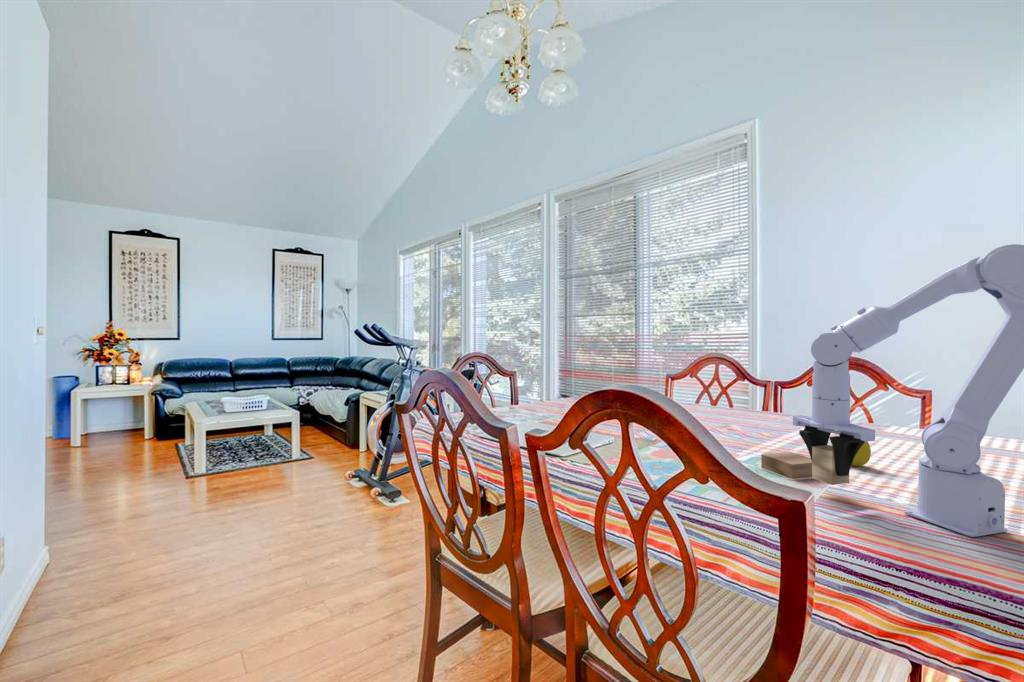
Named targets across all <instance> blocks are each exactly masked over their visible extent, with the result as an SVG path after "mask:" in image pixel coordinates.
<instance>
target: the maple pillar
mask: <svg viewBox="0 0 1024 682" xmlns="http://www.w3.org/2000/svg"><path fill="white" fill-rule="evenodd" d="M811 479H813V480H816V481H820V482H823V483H825V484H829V485H832V486H833V485H834V486H835V485H843V484H849V483H850V473H849V474H848V475H847V476H838V475H836V471H835V456H834V450H833V446H832V444H831V445H830V444H827V445H823V446H812V478H811Z"/></svg>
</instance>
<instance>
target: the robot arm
mask: <svg viewBox="0 0 1024 682" xmlns="http://www.w3.org/2000/svg"><path fill="white" fill-rule="evenodd" d="M980 258H981V257H980V256H978V257H975V258H974V259H970V260H968V261H966V262H964V263H962V264H959V265H958V266H955V267H953V268H951V269H949V270H946V271H945V272H943V273H941V274H940V275H939V276H936V277H935V278H934V279H932V280H931V281H928V282H926V284H923V285H921V287H919V288H917V289H915V290H914V291H912V292H910V293H908V294H907V295H905V296H903V297H902V298H900V299H898V300H897V301H895V302H893V303H891V304H890V305H889V306H885V307H884V306H876V305H875V306H871V307H869V308H867V309H866V308H865V307H862V308H860V309H858V310H857V311H856V313H857V315H856V316H854V317H852V318H850V319H848V320H847V321H845V322H843V323H842V324H840V325H838V326H837V325H833V326H831V327H830V330H831V331H832V332H825V333H821V334H820V335H819V336H818V337H816V338H815V339H814V340H813V342H812V343H811V347H810V353H811V356H812V358H814V360H813V364H812V369H813V372H812V376H811V380H812V386H811V387H812V390H811V391H812V392H811V394H812V395H811V396H812V398H811V399H812V402H811V404H812V407H811V408H812V412H811V414H812V415H811V416H808V415H801V414H798V415H792V426H795V427H804V428H803V429H800V430H799V432H798V433H799V435H800V437H801V438H802V440H803V442H804V444H805V445H806V448H807V451H808V453H809V455H810V456H809V458H811V460H812V446H823V445H829V444H828V443H829V440H830V442H831V443H830V444H831V446H833V450H834V456H835V471H836V475H838V476H847V475H848V474H849V475H850V470H851V468H852V466H851V465H852V462H853V460H854V457H855V456H856V454H857V452H858V451H859V449H860V448H861V446H862V445H863V444H864V443H865V441H866V442H867V441H868V442H874V441H876V429H874V428H868V427H864V426H861V425H859V424H854V423H853V422H852V423H851V374H850V373H849V372H850V371H849V368H850V367H849V365H850V364H849V363H850V361H849V358H851V356H852V354H853V353H862V352H864V351H865V350H868V349H870V348H872V347H873V346H875V345H877V344H879V343H881V342H883V341H885V340H887V339H888V338H890V337H892V336H893V335H896V334H897V333H898V331H899V326H900V323H901V322H902V321H904V320H905V319H907V318H910V317H911V316H912V317H913V315H915V314H917V313H919V312H921V311H923V310H925V309H927V308H929V307H931V306H933V305H935V304H937V303H939V302H940V301H942V300H945V299H946V298H948V297H950V296H953V295H958V294H966V293H975V292H977V291H979V290H981V289H982V290H983V291H985V292H986V293H988V294H989V295H991V296H992V297H993V298H995V300H996V302H997V303H998V304H999V306H1000V308H1001V309H1002V310H1003V311H1004V313H1005V314H1006V316H1005V318H1004V320H1003V321H1002V323H1001V324H1000V326H999V328H998V329H997V330H996V332H995V334H994V335H993V337H992V339H991V340H990V341H989V343H988V345H987V346H986V348H985V350H984V351H983V353H982V355H981V356H980V358H979V359H978V361H977V362H976V363H975V365H974V367H973V369H972V370H971V372H970V374H969V375H968V377H967V379H966V380H965V382H964V383H963V385H962V387H960V390H959V391H958V392H957V394H956V396H955V397H954V399H953V400H952V402H951V404H950V405H949V406H948V407H947V408H946V409H945V410H944V411H943V412H942V414H941V416H940V417H939V419H937V420H936V421H934V422H932V423H930V424H928V425H927V426H926V427H924V429H923V431H922V433H921V442H922V445H923V449H924V453H925V455H924V456H923V457H920V458H919V459H918V485H917V486H918V487H917V488H918V491H917V492H918V494H917V495H918V496H917V497H918V498H917V500H918V501H917V508H913V509H905V510H904V511H903V512H904V514H905V515H908V516H911V517H914V518H916V519H920V520H922V521H925V522H928V523H931V524H934V525H935V526H939V527H942V528H945V529H948V530H951V531H953V532H956V533H959V534H961V535H965V536H967V537H972V538H977V537H982V536H989V535H990V536H991V535H995V534H1001V533H1006V532H1008V530H1009V529H1008V528H1007V527H1005V519H1006V518H1005V514H1006V513H1005V512H1006V511H1005V510H1006V507H1005V505H1006V492H1005V488H1004V484H1003V483H1002V482H1001V481H1000V480H999V479H998V478H995V477H994V476H993V477H992V476H989V475H987V474H985V473H983V472H982V468H981V466H980V465H979V464H977V463H978V462H979V461H980V459H981V456H982V455H981V454H982V453H981V443H982V440H983V439H984V437H985V435H986V433H987V430H988V428H989V427H988V426H989V424H990V420H991V419H992V417H993V416H994V414H995V413H996V411H997V410H998V409H999V407H1000V406H1001V403H1002V402H1003V401H1004V399H1005V398H1006V396H1007V394H1009V391H1010V390H1011V389H1012V387H1013V385H1014V384H1015V382H1016V381H1017V380H1018V378H1019V376H1020V375H1021V374H1022V372H1023V371H1024V244H1014V243H1013V244H1006V245H1001V246H999V247H995V248H994V249H992V250H990V251H989V252H988V253H987V254H986V255H985V256H984V257H983V258H981V259H980ZM831 434H835V436H831Z"/></svg>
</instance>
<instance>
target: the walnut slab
mask: <svg viewBox="0 0 1024 682" xmlns="http://www.w3.org/2000/svg"><path fill="white" fill-rule="evenodd" d="M760 460H761V461H760V463H761V464H760V465H761V466H760V467H761V468H764V469H766V470H769V471H772V472H774V473H777V474H780V475H783V476H785V477H788V478H791V479H797V478H807V477H812V460H811V457H810V456H806V455H802V454H799V453H796V452H792V451H786V452H785V451H784V452H773V453H761V459H760ZM761 468H760V469H761ZM766 470H765V471H766ZM769 471H768V472H769ZM774 473H773V474H774ZM777 474H776V475H777ZM780 475H779V476H780ZM785 477H784V478H785ZM788 478H787V479H788Z"/></svg>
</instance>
